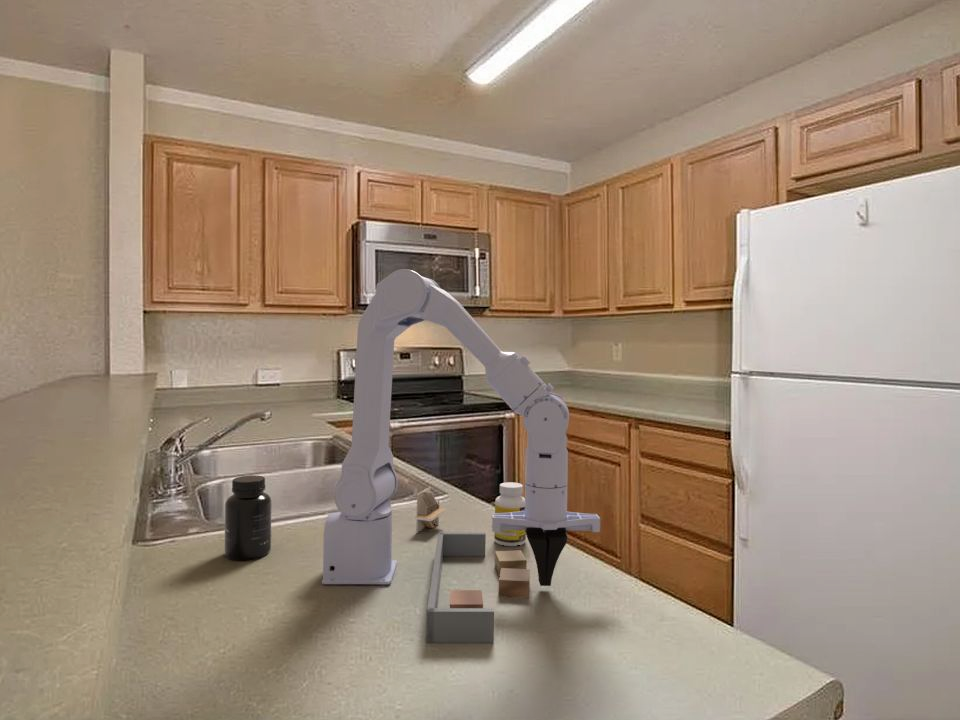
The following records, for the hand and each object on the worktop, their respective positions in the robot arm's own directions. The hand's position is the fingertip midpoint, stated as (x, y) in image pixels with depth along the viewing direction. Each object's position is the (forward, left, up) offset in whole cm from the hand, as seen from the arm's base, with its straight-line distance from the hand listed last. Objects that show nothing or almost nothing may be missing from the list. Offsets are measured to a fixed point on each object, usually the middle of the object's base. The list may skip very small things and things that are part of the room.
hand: (544, 582), depth 76 cm
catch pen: (-11, 0, -1) cm, 11 cm away
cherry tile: (-11, -7, -1) cm, 13 cm away
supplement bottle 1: (-45, +13, -1) cm, 47 cm away
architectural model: (-18, +26, -2) cm, 32 cm away
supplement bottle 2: (-3, +19, -1) cm, 20 cm away
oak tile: (-4, +7, -1) cm, 8 cm away
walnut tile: (-4, 0, -1) cm, 4 cm away
